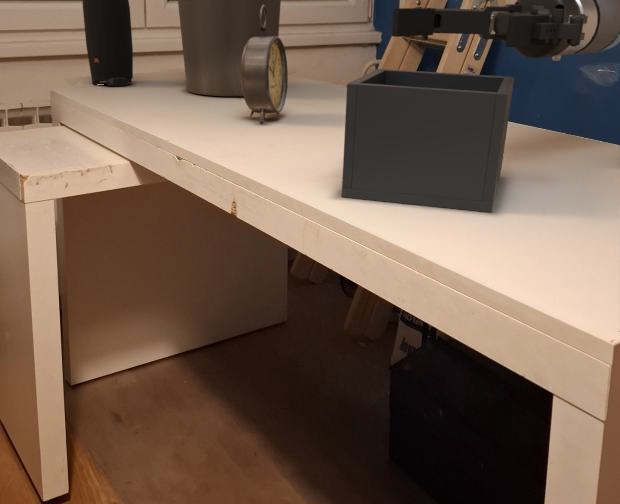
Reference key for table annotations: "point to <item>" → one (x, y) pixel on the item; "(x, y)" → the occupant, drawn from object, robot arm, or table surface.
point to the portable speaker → (109, 41)
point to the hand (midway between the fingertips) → (449, 26)
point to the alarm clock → (264, 73)
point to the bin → (426, 138)
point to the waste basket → (221, 40)
